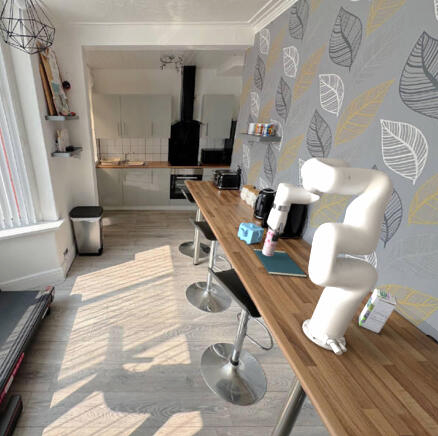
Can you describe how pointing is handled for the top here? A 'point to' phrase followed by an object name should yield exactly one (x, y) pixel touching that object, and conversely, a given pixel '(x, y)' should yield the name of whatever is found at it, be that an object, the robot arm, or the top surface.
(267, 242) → the beverage can
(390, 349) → the top surface
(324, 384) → the top surface
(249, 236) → the light blue box
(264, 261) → the teal book
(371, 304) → the syrup box
